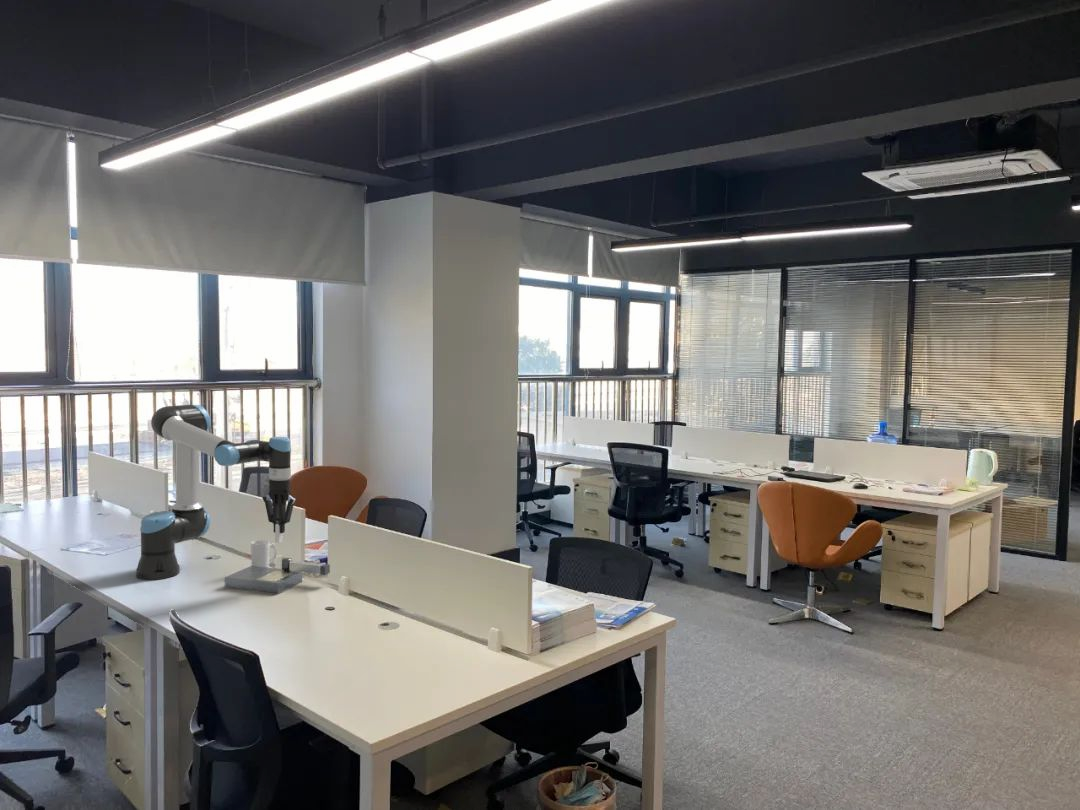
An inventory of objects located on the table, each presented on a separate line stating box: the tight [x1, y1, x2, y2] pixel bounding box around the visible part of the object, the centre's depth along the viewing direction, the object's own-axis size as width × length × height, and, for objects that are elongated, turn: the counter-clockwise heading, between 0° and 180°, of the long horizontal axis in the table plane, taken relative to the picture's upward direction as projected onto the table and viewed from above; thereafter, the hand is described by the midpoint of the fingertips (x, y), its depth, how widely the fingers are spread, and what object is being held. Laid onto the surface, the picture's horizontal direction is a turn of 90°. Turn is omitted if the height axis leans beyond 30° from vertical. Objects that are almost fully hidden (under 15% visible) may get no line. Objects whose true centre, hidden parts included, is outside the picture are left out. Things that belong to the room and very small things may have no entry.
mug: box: [250, 539, 278, 568], centre depth 305 cm, size 10×7×12 cm, turn 133°
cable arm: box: [281, 557, 331, 576], centre depth 291 cm, size 19×4×4 cm, turn 74°
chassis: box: [224, 565, 303, 595], centre depth 288 cm, size 22×16×4 cm
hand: (279, 541), depth 288 cm, fingers closed
